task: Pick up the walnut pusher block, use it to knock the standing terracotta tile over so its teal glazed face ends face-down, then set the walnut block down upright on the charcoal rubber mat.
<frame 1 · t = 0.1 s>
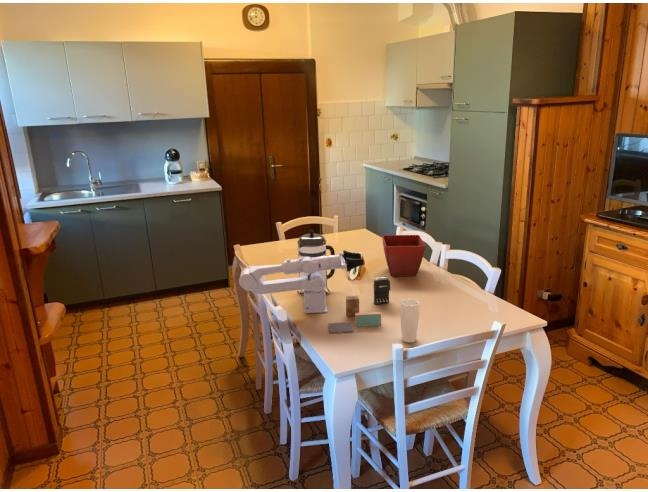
hand: (362, 258, 205), 22 cm above the table, tool horizontal, fingers open, 7 cm apart
drinking glass: (408, 340, 182), on the table
tile: (368, 325, 195), on the table
tool: (352, 315, 203), on the table
plant pot: (402, 272, 251), on the table
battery: (381, 303, 214), on the table
coffee press: (315, 292, 228), on the table
mat: (340, 328, 192), on the table
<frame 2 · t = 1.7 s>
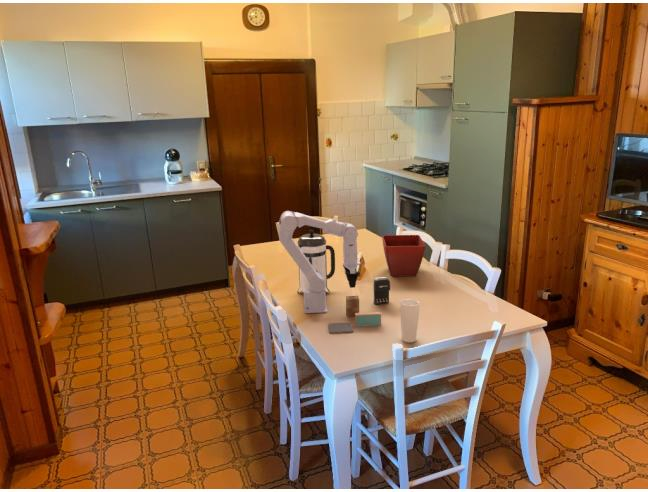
hand: (351, 283, 208), 10 cm above the table, tool pointing down, fingers open, 7 cm apart
nothing on the table moved.
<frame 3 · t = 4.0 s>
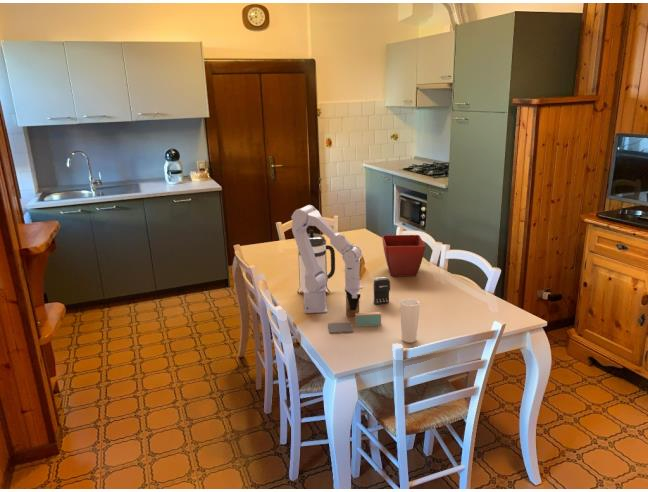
hand: (352, 307, 202), 3 cm above the table, tool pointing down, fingers closed on tool, 3 cm apart
tool: (352, 315, 203), on the table, touching gripper
everything else where it was.
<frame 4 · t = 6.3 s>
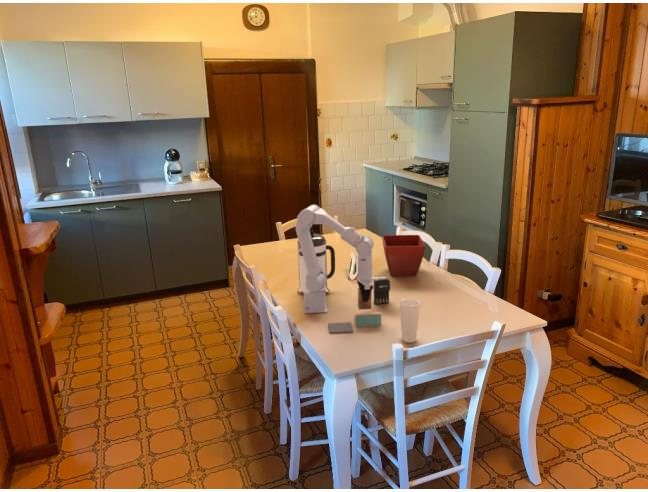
hand: (364, 299, 201), 7 cm above the table, tool pointing down, fingers closed on tool, 3 cm apart
tool: (364, 307, 202), point 3 cm above the table, touching gripper
everything else where it was.
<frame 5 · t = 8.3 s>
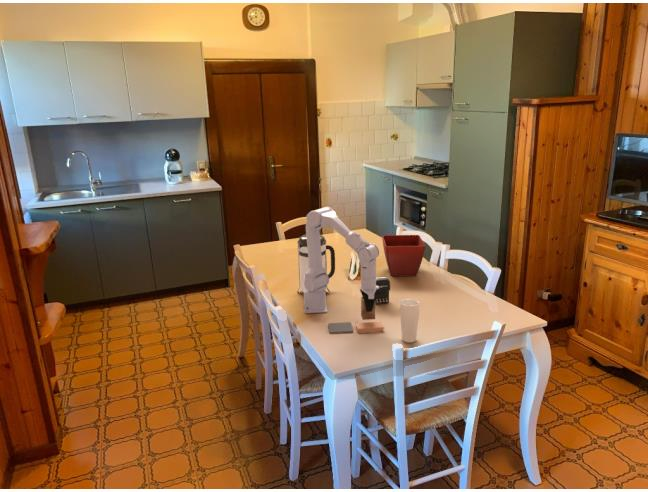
hand: (368, 309, 192), 7 cm above the table, tool pointing down, fingers closed on tool, 3 cm apart
tile: (368, 324, 194), point 1 cm above the table, tilted 90°
tool: (368, 317, 193), point 3 cm above the table, touching gripper
everything else where it was.
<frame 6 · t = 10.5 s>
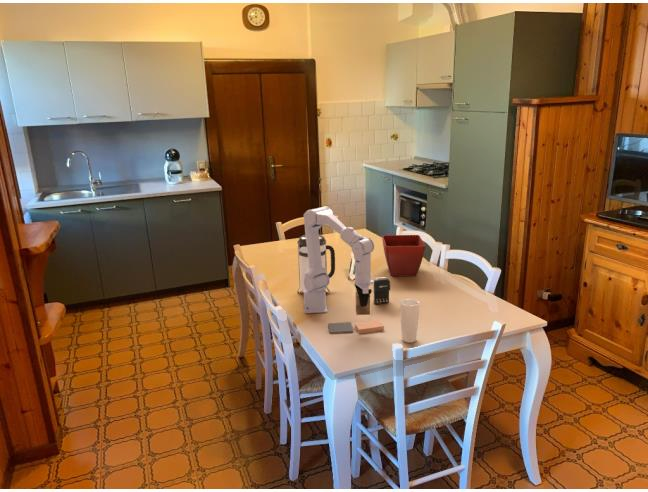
hand: (362, 304, 189), 10 cm above the table, tool pointing down, fingers closed on tool, 3 cm apart
tool: (362, 312, 190), point 7 cm above the table, touching gripper
when the fingers open (6 cm above the table, at t = 12.4 s): tool drops 1 cm, resting on mat.
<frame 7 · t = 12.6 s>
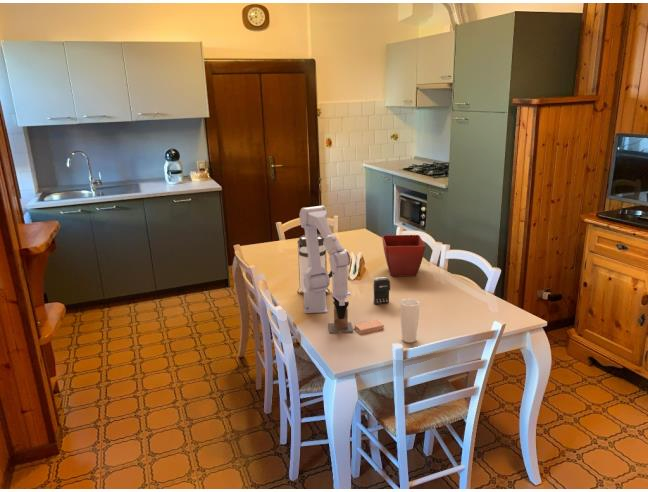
hand: (340, 315, 191), 6 cm above the table, tool pointing down, fingers open, 5 cm apart
tool: (340, 326, 192), point 1 cm above the table, touching mat
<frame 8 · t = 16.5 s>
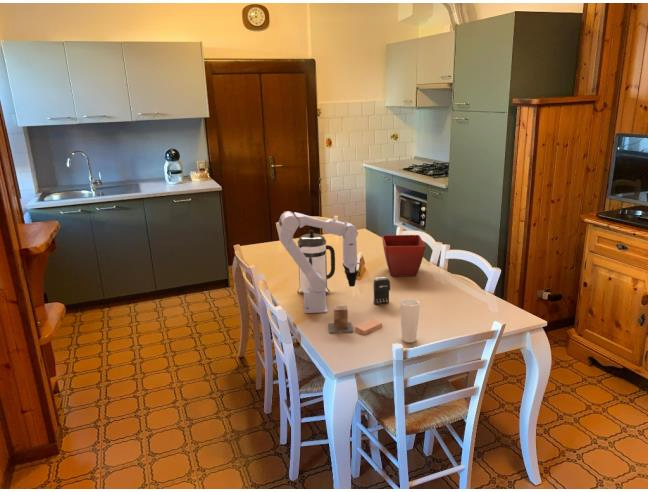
hand: (350, 282, 210), 10 cm above the table, tool pointing down, fingers open, 7 cm apart
at the end: tile tilted 90°; tool 0.1 cm off-centre on the mat, point 0.6 cm above the mat's base; tool tilted 0° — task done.
